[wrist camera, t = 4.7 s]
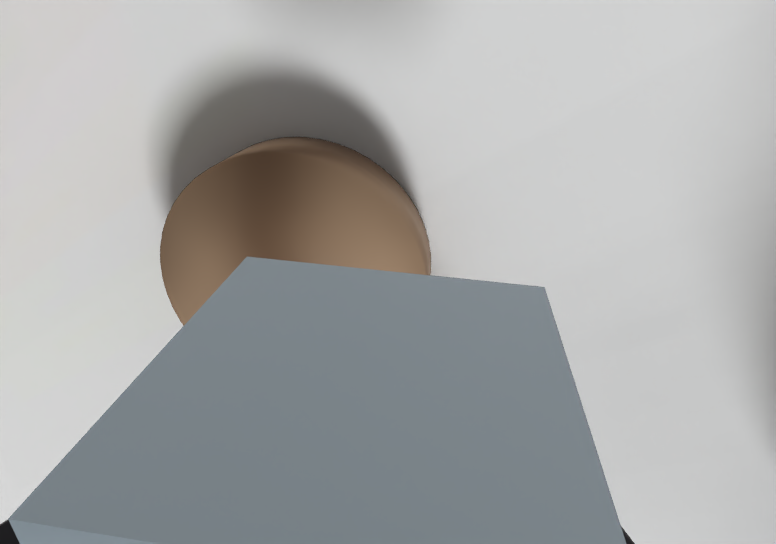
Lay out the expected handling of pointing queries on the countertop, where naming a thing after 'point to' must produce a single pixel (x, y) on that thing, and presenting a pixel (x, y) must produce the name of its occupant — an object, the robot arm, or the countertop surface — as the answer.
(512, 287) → the block
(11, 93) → the countertop surface
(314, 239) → the brown shallow bowl
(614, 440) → the countertop surface
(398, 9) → the countertop surface
